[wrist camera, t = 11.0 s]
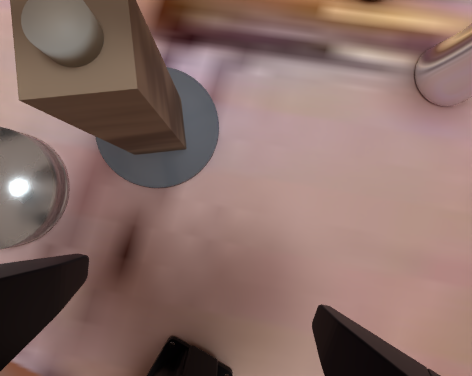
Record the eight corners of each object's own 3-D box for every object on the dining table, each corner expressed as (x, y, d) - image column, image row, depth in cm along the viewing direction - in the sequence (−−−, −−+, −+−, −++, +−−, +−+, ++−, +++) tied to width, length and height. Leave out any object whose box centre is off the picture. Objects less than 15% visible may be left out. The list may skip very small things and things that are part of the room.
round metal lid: (32, 266, 21) (7, 274, 19) (-67, 208, 21) (-104, 210, 19) (92, 170, 22) (76, 166, 20) (-3, 113, 22) (-31, 103, 20)
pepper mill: (186, 149, 22) (127, 76, 9) (134, 154, 21) (-6, 88, 8) (181, 99, 22) (114, -47, 9) (129, 104, 22) (-17, -38, 9)
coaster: (179, 210, 22) (178, 210, 21) (73, 148, 22) (70, 147, 21) (240, 108, 22) (241, 106, 22) (138, 47, 22) (136, 43, 22)
